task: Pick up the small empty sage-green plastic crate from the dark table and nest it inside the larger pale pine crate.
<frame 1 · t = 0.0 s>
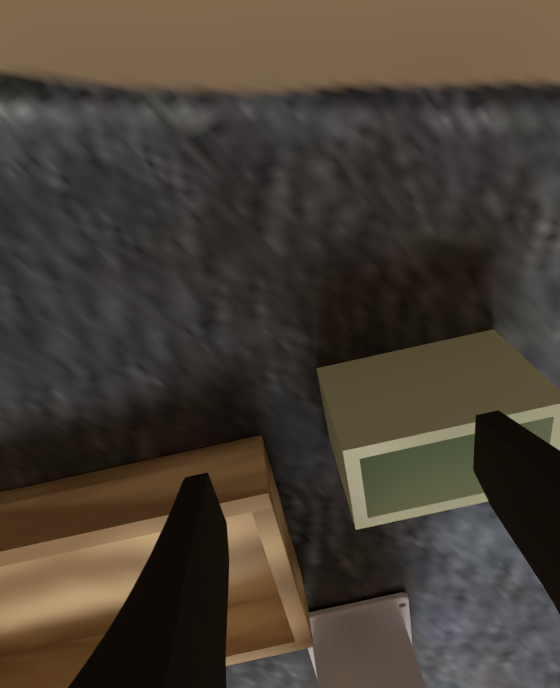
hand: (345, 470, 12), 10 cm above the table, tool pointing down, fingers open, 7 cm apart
pine crate: (110, 557, 28), on the table
small crate: (406, 385, 24), on the table
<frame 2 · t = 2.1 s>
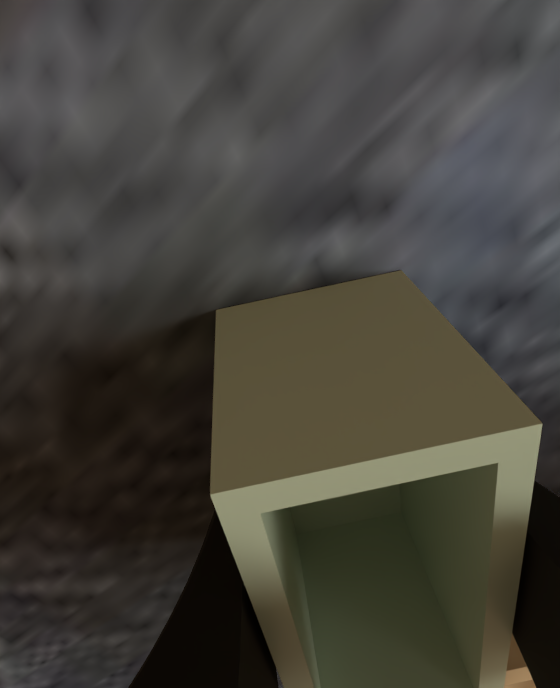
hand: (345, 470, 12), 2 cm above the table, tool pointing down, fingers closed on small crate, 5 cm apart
pine crate: (529, 670, 24), on the table
small crate: (330, 423, 14), on the table, touching gripper
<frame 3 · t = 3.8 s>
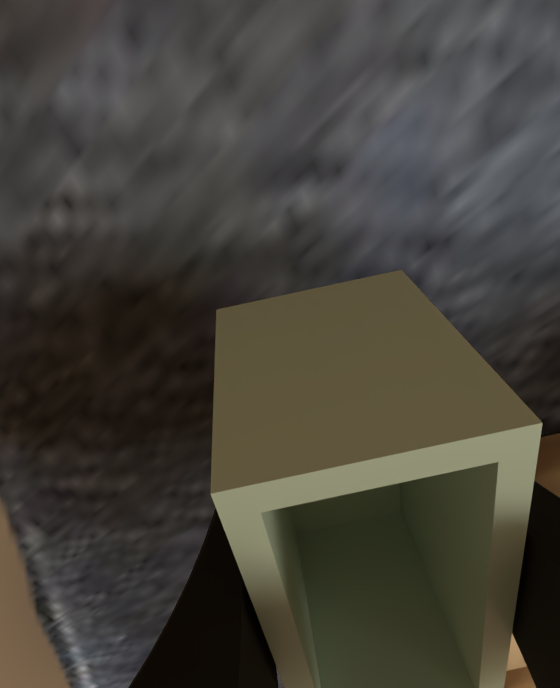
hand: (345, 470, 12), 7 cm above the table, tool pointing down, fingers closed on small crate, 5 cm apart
pine crate: (482, 579, 28), on the table
small crate: (330, 423, 14), point 5 cm above the table, touching gripper
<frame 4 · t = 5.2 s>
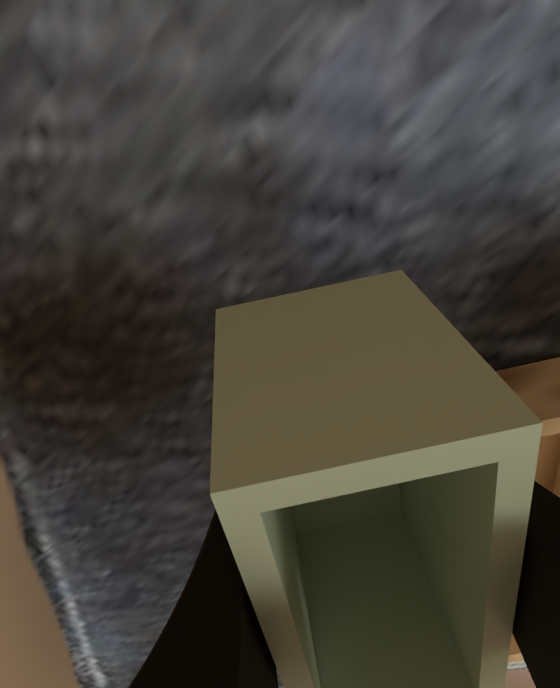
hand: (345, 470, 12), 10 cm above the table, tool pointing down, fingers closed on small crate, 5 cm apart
pine crate: (448, 518, 29), on the table
small crate: (330, 423, 14), point 8 cm above the table, touching gripper
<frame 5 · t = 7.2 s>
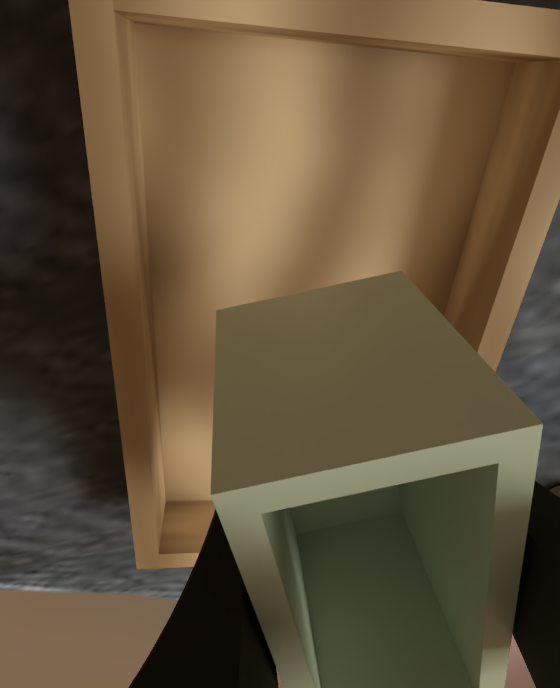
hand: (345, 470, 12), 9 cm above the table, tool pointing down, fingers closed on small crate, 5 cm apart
pine crate: (299, 318, 20), on the table
small crate: (330, 423, 14), point 7 cm above the table, touching gripper
when the fingers open (4 cm above the table, at t = 8.6 s): small crate drops 1 cm, resting on pine crate.
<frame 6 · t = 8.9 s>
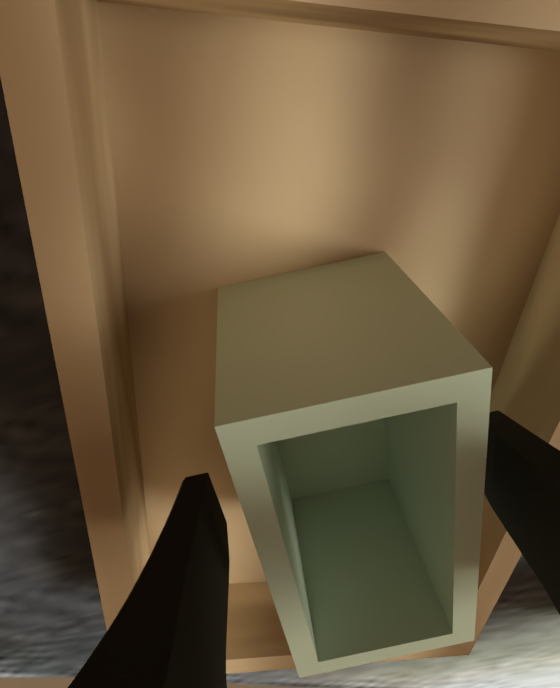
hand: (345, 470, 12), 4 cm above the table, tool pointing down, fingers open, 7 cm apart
pine crate: (316, 377, 16), on the table
small crate: (322, 395, 15), point 1 cm above the table, touching pine crate
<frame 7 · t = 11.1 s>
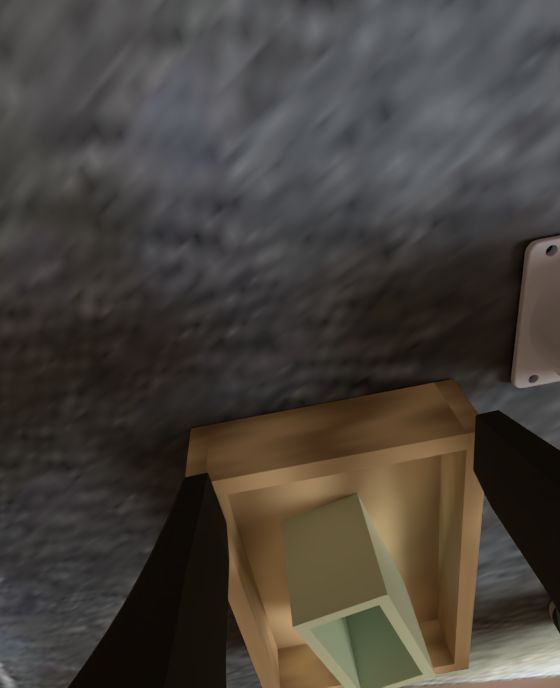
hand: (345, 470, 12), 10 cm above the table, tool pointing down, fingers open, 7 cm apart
pine crate: (341, 536, 30), on the table
small crate: (345, 550, 29), point 1 cm above the table, touching pine crate
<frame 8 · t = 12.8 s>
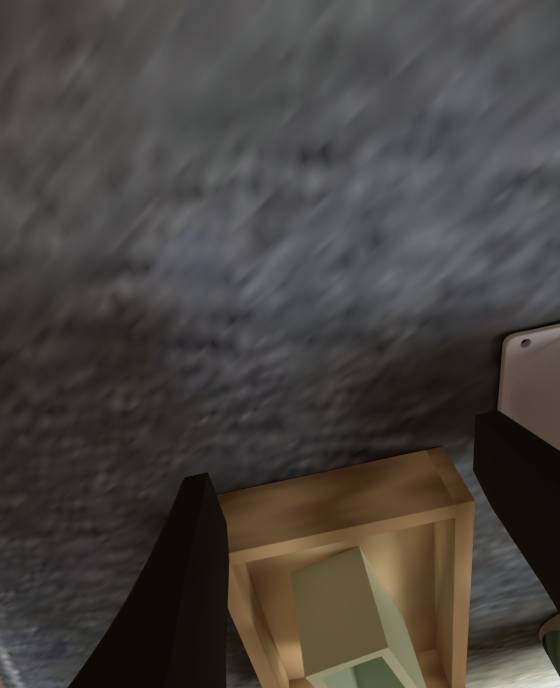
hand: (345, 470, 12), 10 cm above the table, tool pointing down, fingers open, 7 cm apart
pine crate: (345, 580, 32), on the table
small crate: (349, 594, 32), point 1 cm above the table, touching pine crate
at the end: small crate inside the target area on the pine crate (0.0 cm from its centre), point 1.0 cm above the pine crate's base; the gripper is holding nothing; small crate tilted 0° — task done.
